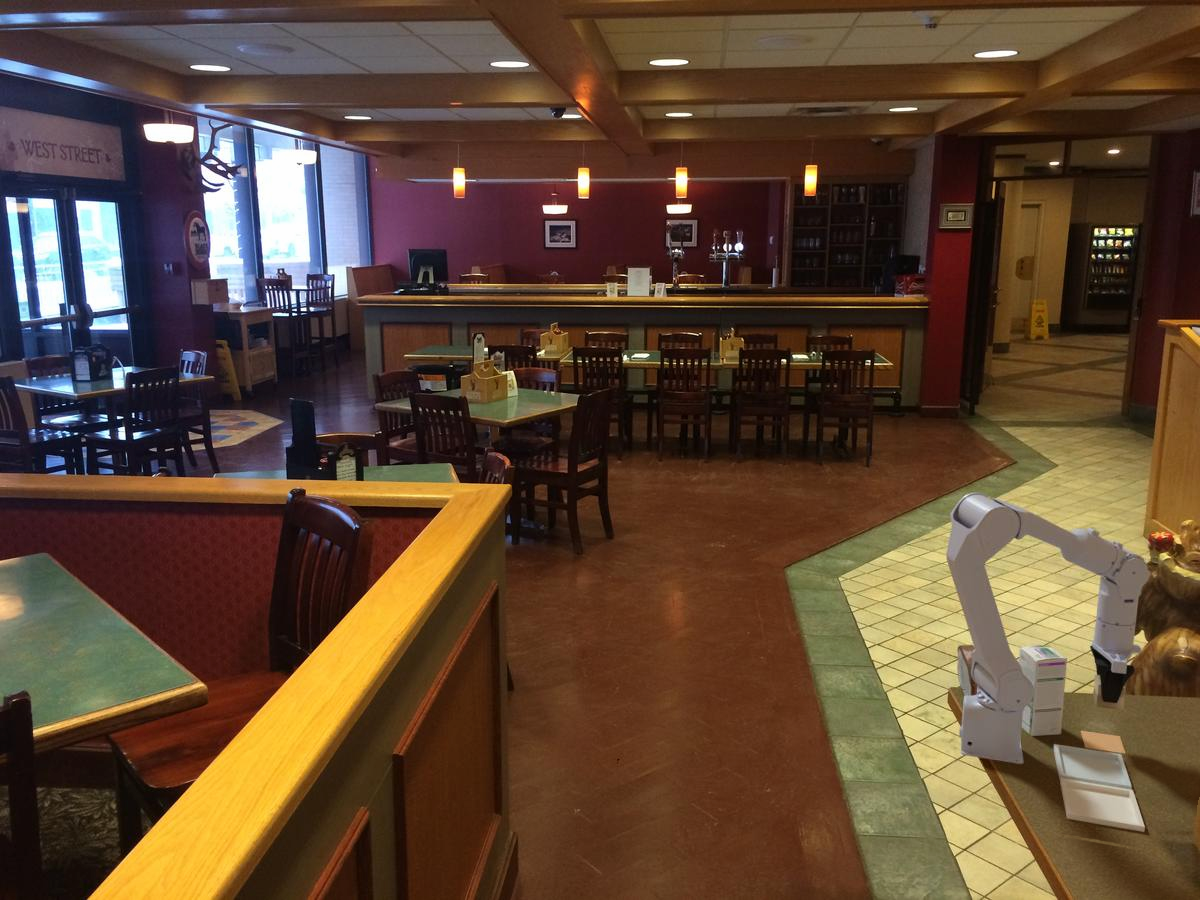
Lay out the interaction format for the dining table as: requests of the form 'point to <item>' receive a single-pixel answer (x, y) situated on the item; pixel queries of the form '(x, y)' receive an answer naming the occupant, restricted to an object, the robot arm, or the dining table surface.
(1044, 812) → the dining table surface
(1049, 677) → the syrup box
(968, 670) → the tin
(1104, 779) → the far tray
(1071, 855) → the dining table surface
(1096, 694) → the letter cube
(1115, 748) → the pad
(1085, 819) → the near tray
